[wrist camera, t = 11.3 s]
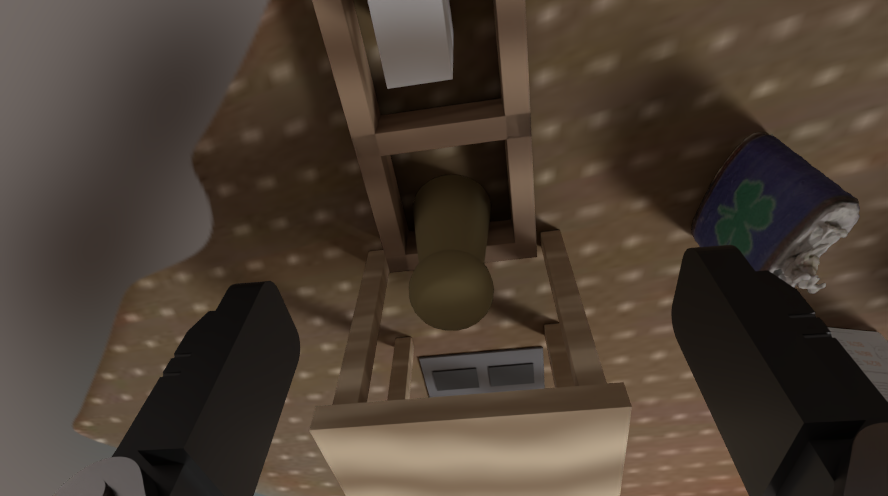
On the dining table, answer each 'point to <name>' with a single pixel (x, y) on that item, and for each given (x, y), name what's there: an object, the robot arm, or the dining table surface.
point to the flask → (775, 211)
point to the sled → (431, 111)
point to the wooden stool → (478, 409)
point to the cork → (451, 253)
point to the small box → (867, 354)
